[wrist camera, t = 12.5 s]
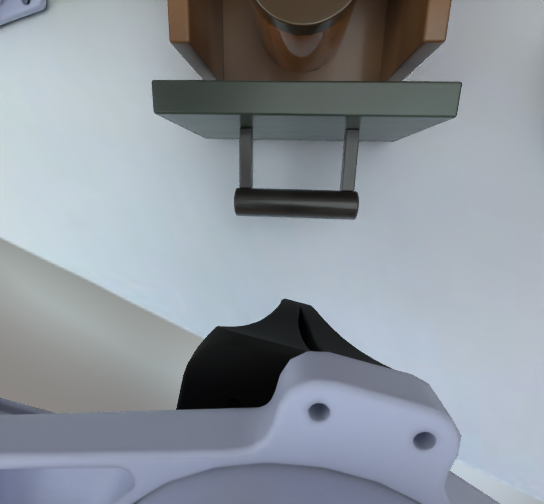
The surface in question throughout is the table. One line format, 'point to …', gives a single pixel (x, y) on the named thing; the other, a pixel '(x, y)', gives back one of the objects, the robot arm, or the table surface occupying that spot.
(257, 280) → the table surface
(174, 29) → the drawer
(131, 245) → the table surface
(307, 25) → the jar
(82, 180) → the table surface
